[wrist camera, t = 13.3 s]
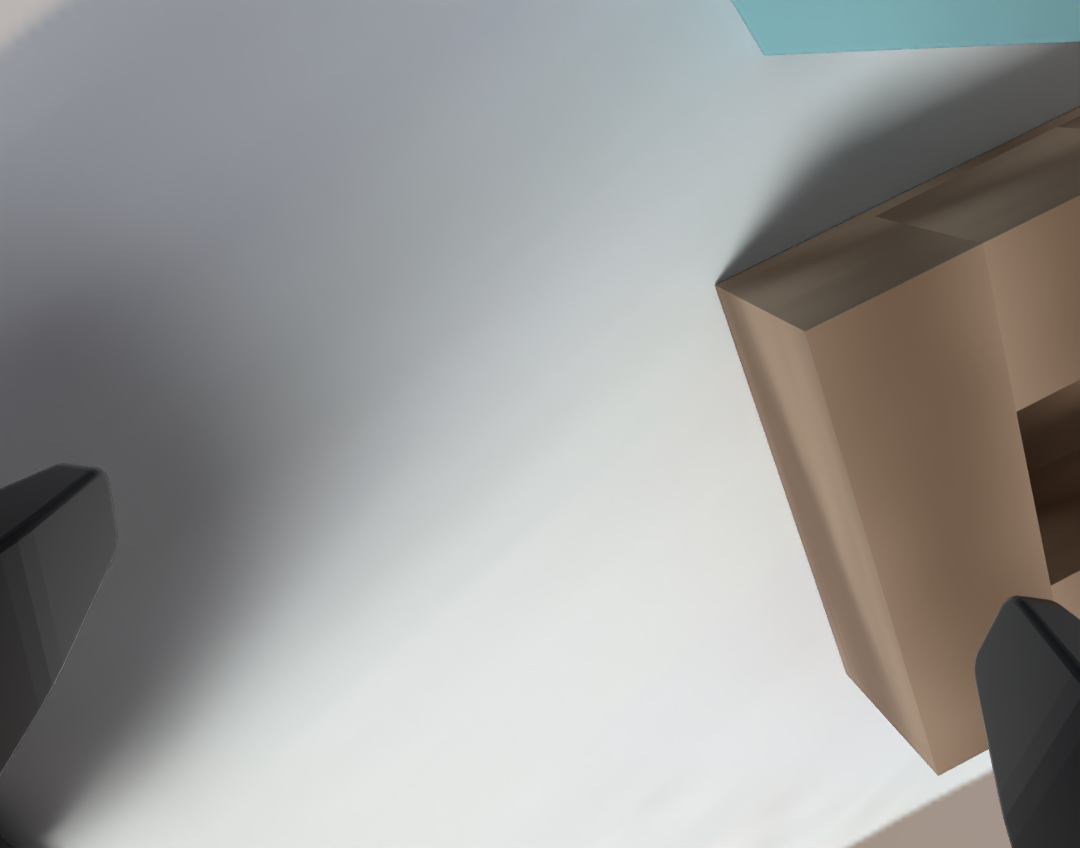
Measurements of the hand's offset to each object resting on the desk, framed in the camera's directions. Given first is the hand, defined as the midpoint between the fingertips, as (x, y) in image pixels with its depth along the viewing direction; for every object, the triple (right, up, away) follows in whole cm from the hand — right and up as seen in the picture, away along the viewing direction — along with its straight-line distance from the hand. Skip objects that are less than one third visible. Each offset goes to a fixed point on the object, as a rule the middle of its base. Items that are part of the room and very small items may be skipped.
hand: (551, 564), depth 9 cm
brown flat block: (+11, +2, +14) cm, 18 cm away
